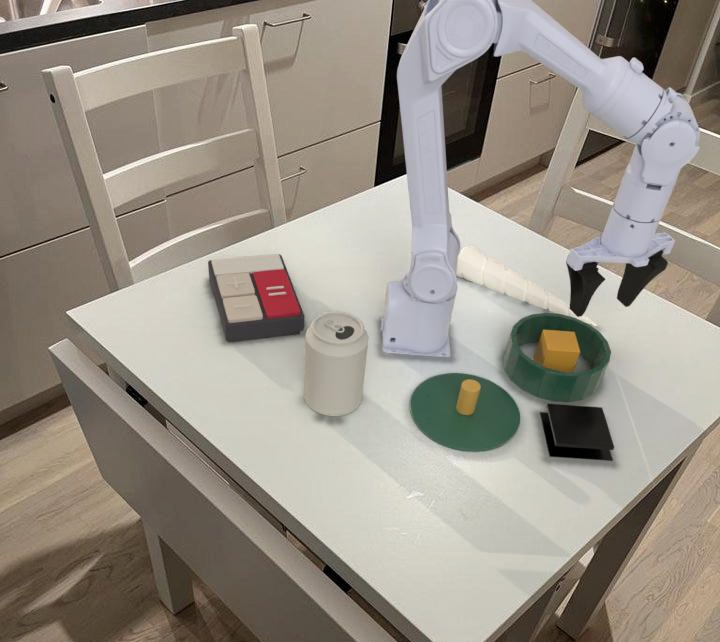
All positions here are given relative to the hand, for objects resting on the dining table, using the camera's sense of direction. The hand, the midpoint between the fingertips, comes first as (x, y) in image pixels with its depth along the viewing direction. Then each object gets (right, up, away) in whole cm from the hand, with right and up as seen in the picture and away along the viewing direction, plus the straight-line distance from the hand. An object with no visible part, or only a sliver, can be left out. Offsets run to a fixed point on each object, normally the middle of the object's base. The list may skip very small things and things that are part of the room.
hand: (599, 307), depth 96 cm
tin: (-5, -8, +6) cm, 11 cm away
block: (-5, -7, +5) cm, 10 cm away
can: (-35, -13, -2) cm, 37 cm away
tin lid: (-18, -14, -2) cm, 23 cm away
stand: (-4, -18, -3) cm, 18 cm away
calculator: (-47, +2, +10) cm, 48 cm away
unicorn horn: (-7, +6, +17) cm, 20 cm away
